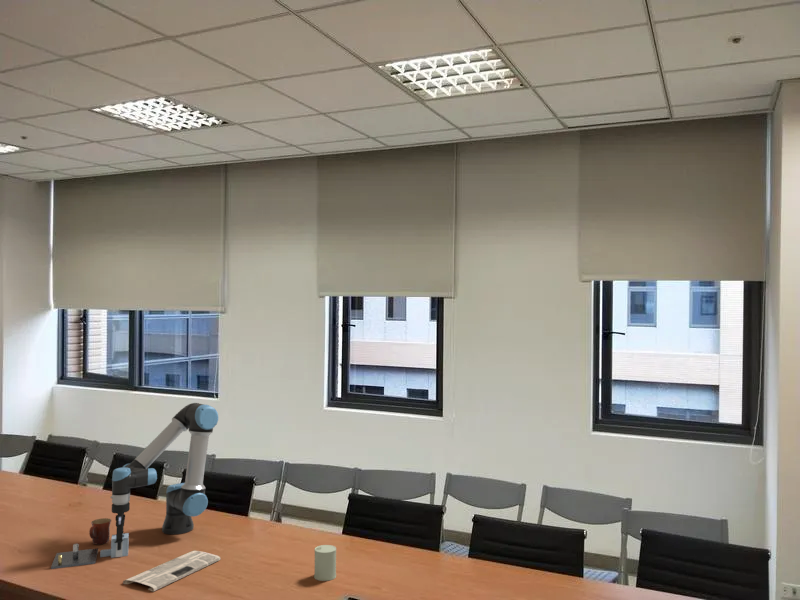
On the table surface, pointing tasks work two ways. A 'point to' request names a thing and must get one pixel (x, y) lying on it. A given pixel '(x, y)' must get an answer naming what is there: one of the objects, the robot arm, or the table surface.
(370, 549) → the table surface
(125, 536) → the hollow square cube
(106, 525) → the mug
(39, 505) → the table surface
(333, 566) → the can
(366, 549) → the table surface
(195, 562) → the newspaper
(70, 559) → the post plate
